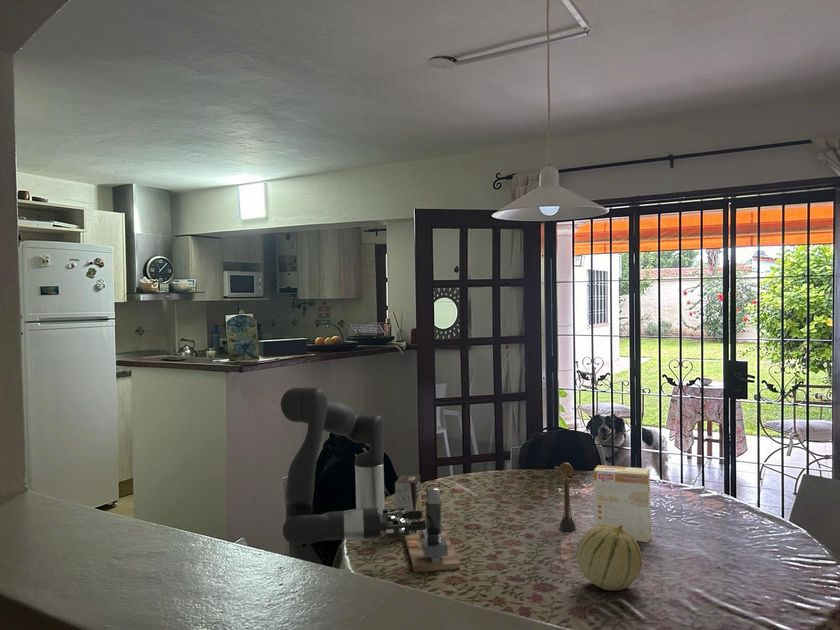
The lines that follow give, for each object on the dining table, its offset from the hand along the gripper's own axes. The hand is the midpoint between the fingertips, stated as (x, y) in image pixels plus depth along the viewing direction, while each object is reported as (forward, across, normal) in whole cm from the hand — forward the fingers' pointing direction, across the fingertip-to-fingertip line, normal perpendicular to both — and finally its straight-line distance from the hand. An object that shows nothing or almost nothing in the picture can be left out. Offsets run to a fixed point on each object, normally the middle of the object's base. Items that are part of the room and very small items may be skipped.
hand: (423, 519), depth 164 cm
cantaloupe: (+42, -21, +12) cm, 48 cm away
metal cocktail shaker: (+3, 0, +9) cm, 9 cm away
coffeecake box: (+60, +10, +12) cm, 62 cm away
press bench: (+3, +8, +12) cm, 15 cm away
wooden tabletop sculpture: (+46, +19, +12) cm, 51 cm away
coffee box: (-2, +26, +12) cm, 29 cm away
